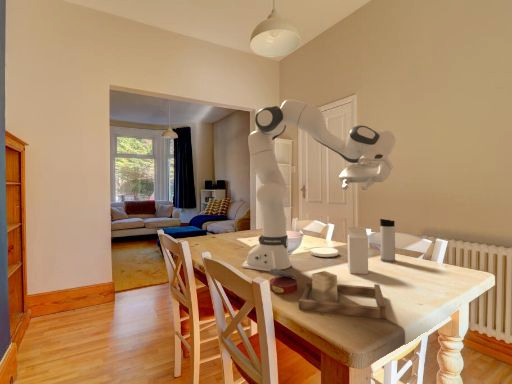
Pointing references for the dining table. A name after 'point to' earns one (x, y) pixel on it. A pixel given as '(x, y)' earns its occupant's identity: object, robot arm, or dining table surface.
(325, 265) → the dining table surface
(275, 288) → the canned food
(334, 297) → the tan wooden block
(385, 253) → the travel mug
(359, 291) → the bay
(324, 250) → the plastic lid
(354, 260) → the milk carton
